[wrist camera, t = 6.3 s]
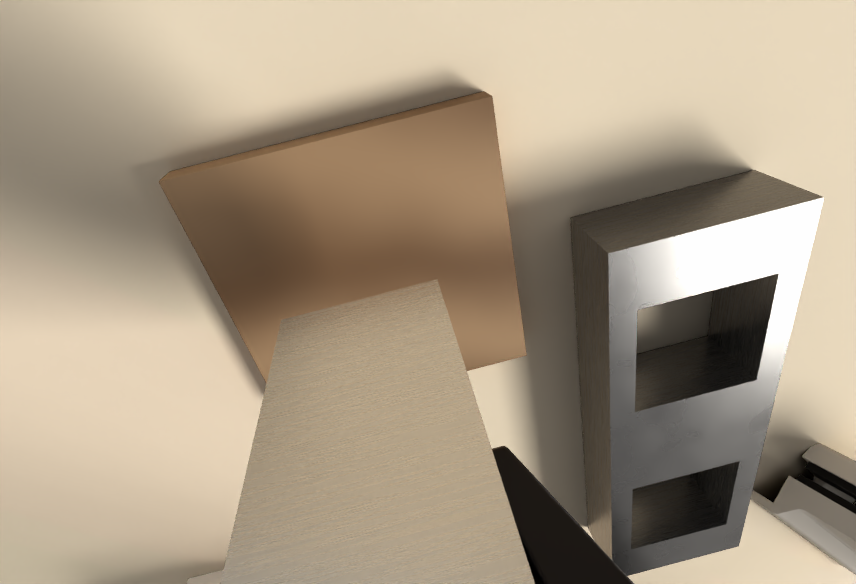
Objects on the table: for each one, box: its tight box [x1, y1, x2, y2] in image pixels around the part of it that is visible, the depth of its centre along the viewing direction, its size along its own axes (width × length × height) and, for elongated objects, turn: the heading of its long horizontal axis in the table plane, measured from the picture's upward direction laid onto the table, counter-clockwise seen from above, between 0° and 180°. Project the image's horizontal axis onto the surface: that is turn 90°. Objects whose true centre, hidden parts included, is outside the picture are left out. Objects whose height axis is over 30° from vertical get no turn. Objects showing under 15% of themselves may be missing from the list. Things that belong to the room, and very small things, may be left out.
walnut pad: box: [159, 91, 527, 383], centre depth 17 cm, size 10×10×1 cm
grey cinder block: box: [570, 170, 824, 576], centre depth 21 cm, size 20×7×3 cm, turn 12°
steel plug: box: [220, 280, 535, 584], centre depth 9 cm, size 4×4×8 cm
